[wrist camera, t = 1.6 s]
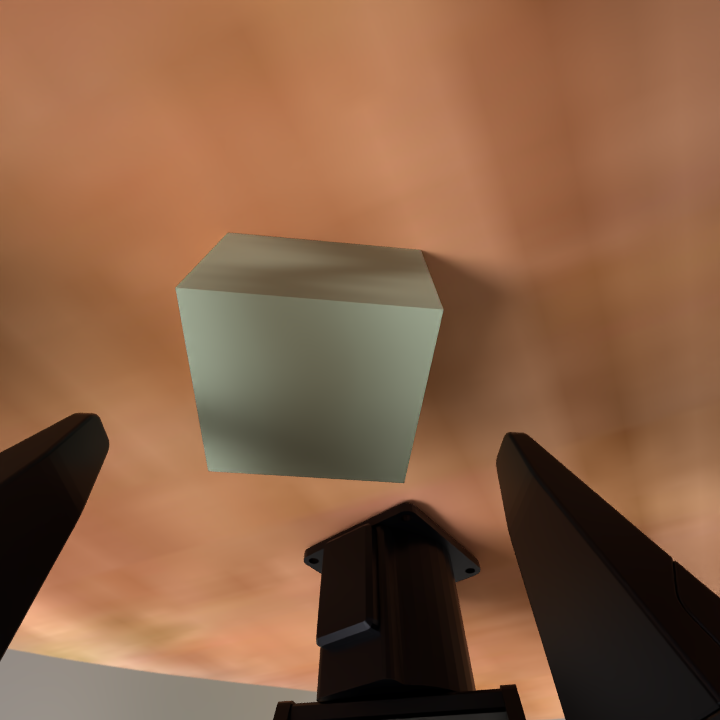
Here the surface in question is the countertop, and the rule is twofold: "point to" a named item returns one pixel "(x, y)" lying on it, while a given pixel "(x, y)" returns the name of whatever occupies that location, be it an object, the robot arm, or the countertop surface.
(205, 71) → the countertop surface
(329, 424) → the green block
